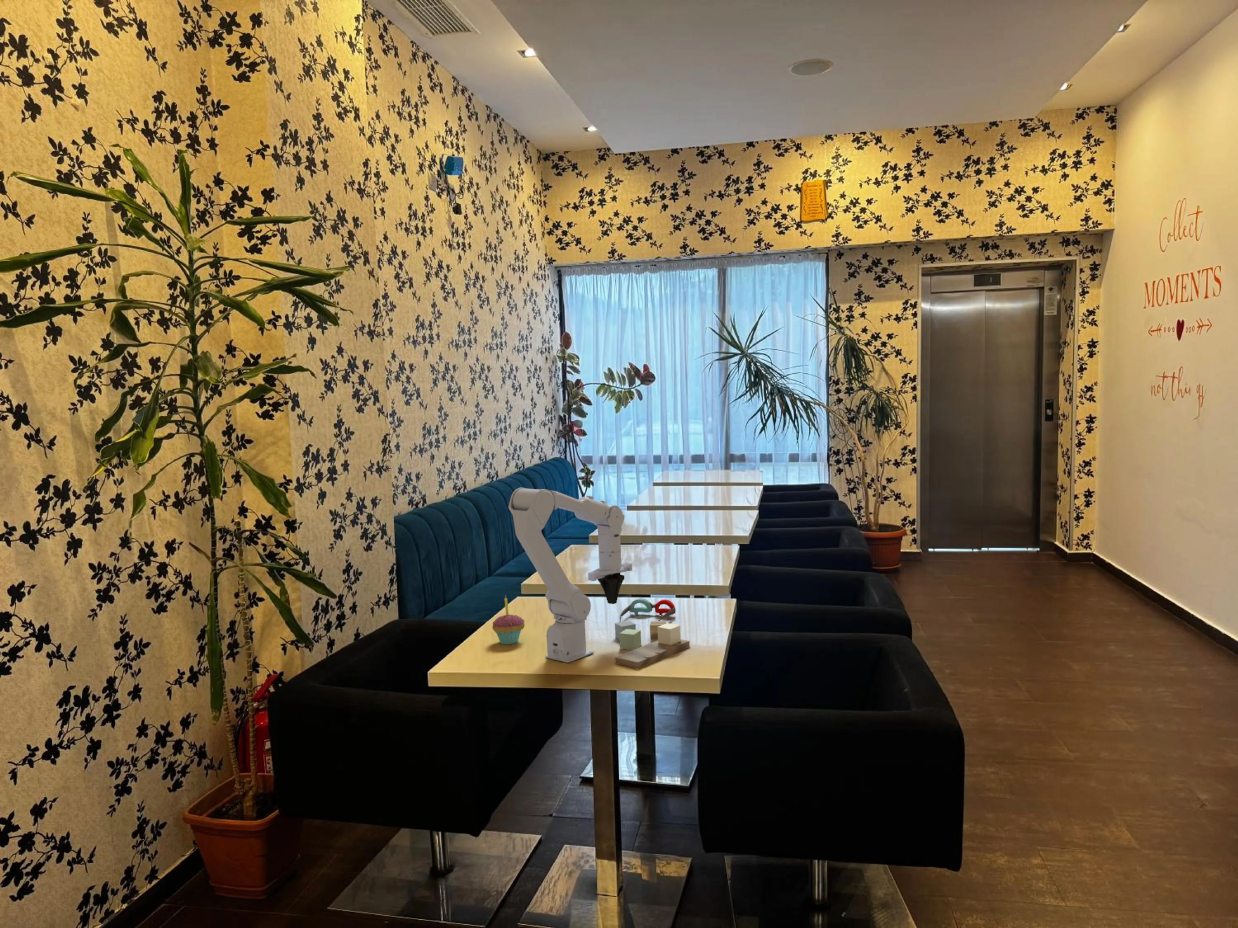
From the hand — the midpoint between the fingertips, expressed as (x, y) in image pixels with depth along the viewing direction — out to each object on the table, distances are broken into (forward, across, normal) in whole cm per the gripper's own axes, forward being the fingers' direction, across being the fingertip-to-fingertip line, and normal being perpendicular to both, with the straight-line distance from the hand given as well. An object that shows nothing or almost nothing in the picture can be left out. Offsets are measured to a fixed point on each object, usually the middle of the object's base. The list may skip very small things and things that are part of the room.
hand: (612, 603), depth 218 cm
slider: (+8, +3, -16) cm, 18 cm away
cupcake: (+10, -16, +23) cm, 30 cm away
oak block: (+10, +9, -8) cm, 15 cm away
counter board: (+10, -3, -16) cm, 19 cm away
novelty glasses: (+11, +19, +6) cm, 23 cm away
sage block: (+10, -1, -7) cm, 12 cm away
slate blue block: (+10, +4, -1) cm, 11 cm away
